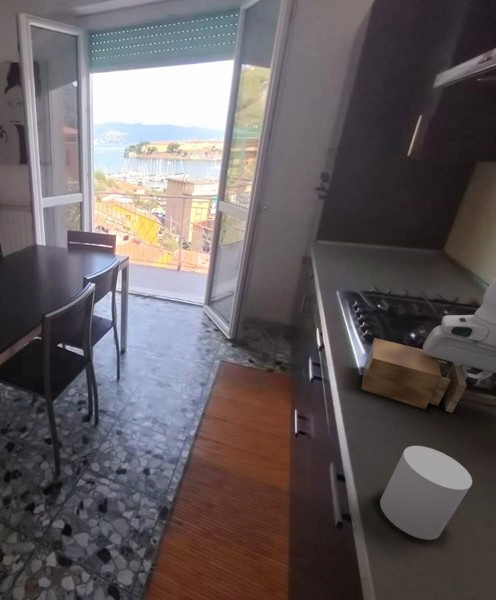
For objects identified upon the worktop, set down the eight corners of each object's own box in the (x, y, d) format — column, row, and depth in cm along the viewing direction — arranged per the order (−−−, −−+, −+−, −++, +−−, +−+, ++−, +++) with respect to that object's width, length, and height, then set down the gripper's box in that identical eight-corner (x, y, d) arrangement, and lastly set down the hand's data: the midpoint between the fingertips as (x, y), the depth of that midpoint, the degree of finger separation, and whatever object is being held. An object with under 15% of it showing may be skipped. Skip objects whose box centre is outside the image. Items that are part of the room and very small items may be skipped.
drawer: (453, 390, 88) (467, 365, 85) (459, 415, 81) (474, 387, 78) (389, 372, 95) (399, 348, 92) (389, 393, 88) (400, 367, 85)
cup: (454, 539, 57) (488, 489, 52) (403, 539, 58) (432, 489, 52) (414, 493, 65) (440, 445, 60) (369, 493, 65) (391, 445, 60)
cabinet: (422, 384, 92) (436, 353, 88) (425, 409, 84) (441, 376, 80) (363, 367, 99) (374, 337, 95) (361, 389, 91) (372, 357, 87)
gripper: (562, 340, 75) (529, 391, 81) (435, 314, 86) (413, 361, 92) (573, 353, 71) (537, 407, 77) (437, 324, 82) (415, 373, 88)
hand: (469, 381), depth 85 cm, fingers closed
